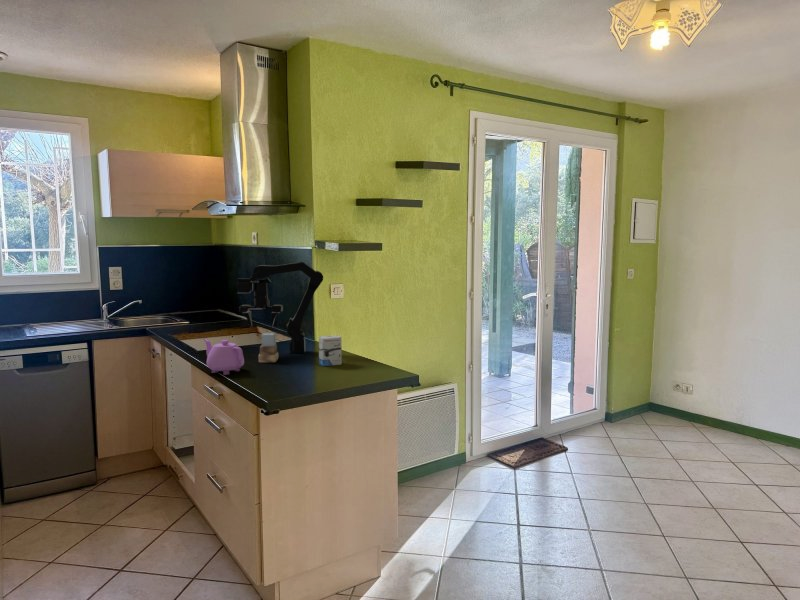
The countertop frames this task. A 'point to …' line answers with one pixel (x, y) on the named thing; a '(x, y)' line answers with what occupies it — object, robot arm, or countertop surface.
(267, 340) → the pale blue cube
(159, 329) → the countertop surface
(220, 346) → the teapot
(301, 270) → the robot arm
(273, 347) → the walnut mid slab
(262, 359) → the oak base slab
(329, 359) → the ink box
